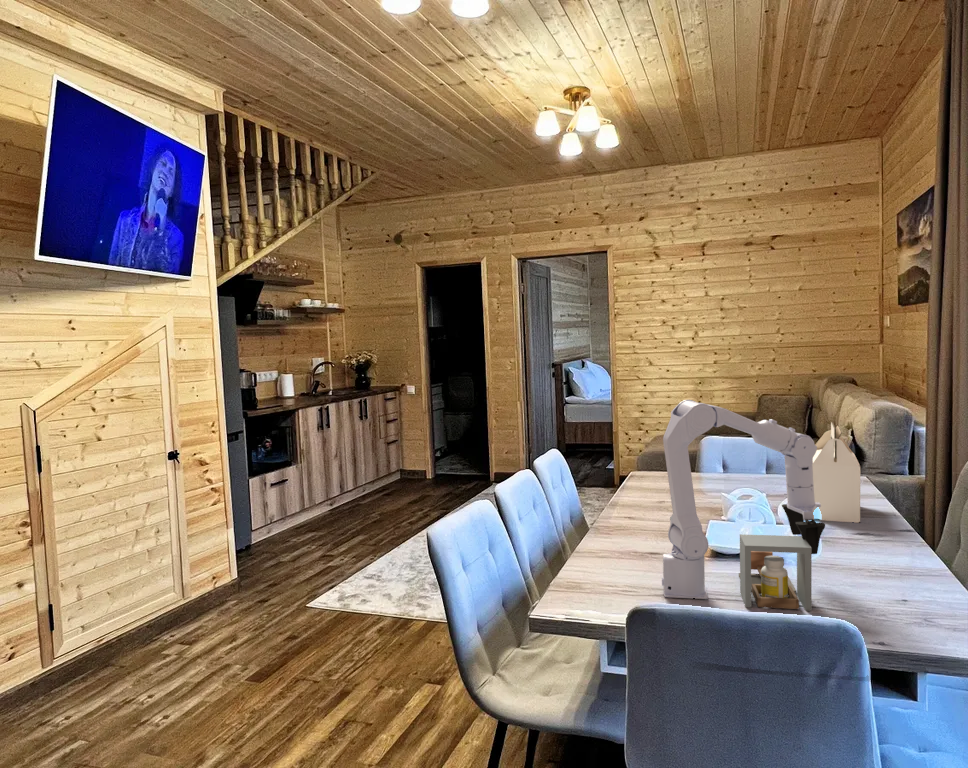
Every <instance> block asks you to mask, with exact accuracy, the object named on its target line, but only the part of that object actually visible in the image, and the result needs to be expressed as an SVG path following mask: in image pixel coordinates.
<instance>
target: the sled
mask: <svg viewBox="0 0 968 768" xmlns="http://www.w3.org/2000/svg"><path fill="white" fill-rule="evenodd" d="M766 556H774V552H759V551H751V570H753V571H755V570H757V572H758V574H760V576H761V569H762V567H764V566H766V565H765V564H764V557H766ZM760 594H761V584H752V592H751V595H752V596H753V599H754V601H755V603H756V606H757V608H771V609H790V610H793V609H794V610H799V609H800V600H799V599H798V597H797V594H795V592H794V591H793V589H792V587H791V586H789V585H788V598H771V597H762V596H761V595H760Z"/></svg>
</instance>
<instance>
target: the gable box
mask: <svg viewBox="0 0 968 768" xmlns="http://www.w3.org/2000/svg"><path fill="white" fill-rule="evenodd" d="M842 433H843V432H842V431H841V428H840V425H837V426H836V425H835V424H834V421H831V422H830V429H828V430H826V431H825V432H823V434H822V436H821V437H820V438H819V439H818V440H817V442H816V443H815V445H816V446H817V451H816V453H815V455H814V456H813V464H812V466H813V481H814V496H815V502H818V503H820V504H821V507H819V509H820V511H821V514H822V520H821V521H826V522H841V523H852V522H854V523H856V524H860V523H861V465H860V463H859V460H858V459H857V457H856V455H855V453H854V452H853V451H852V449H851V448H850V447H849V445H848V444H847V442H846V441H845V440H844V438H843V437H842ZM854 523H853V524H854Z"/></svg>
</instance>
